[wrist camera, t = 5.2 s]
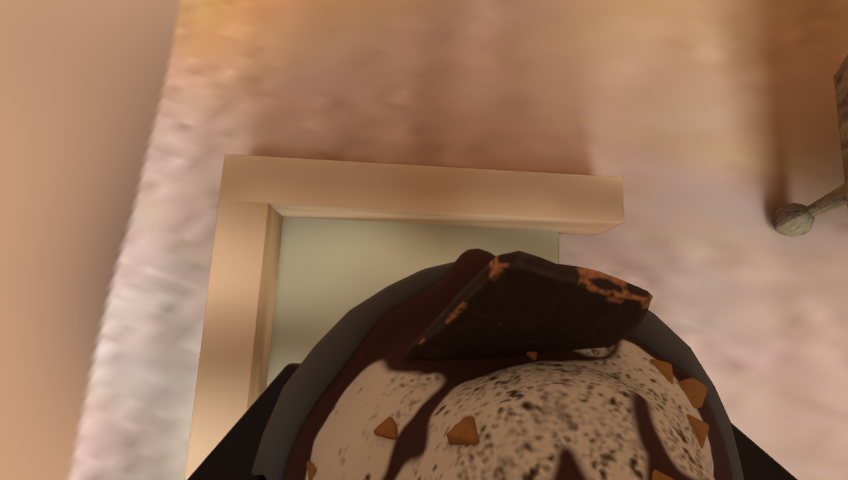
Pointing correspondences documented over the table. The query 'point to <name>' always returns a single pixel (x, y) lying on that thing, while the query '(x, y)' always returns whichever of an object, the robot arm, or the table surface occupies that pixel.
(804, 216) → the tabletop clock
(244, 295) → the corner tray
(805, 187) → the table surface
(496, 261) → the sundae
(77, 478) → the table surface
